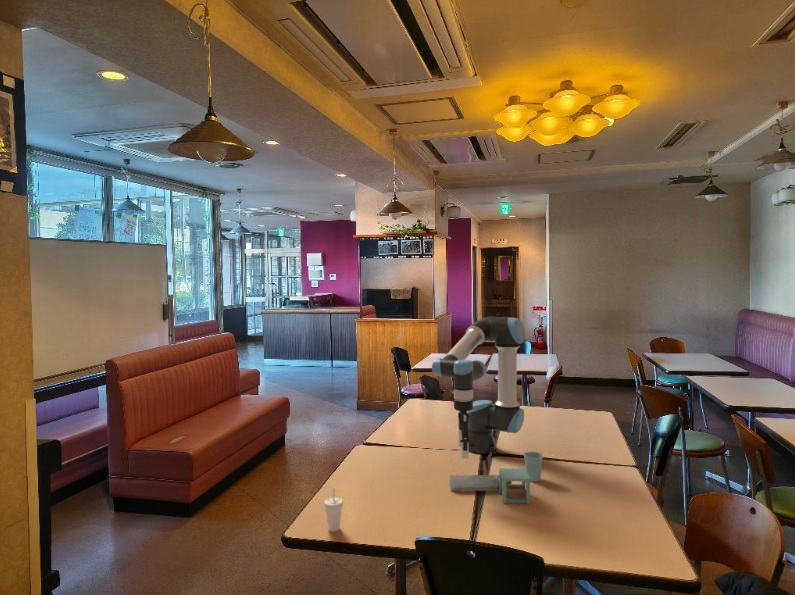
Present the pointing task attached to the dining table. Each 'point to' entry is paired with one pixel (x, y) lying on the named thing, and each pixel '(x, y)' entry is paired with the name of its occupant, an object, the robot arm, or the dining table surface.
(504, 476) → the bridge
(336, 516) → the smoothie
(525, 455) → the cup
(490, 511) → the dining table surface
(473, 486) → the grey bar
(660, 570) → the dining table surface
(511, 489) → the walnut block
